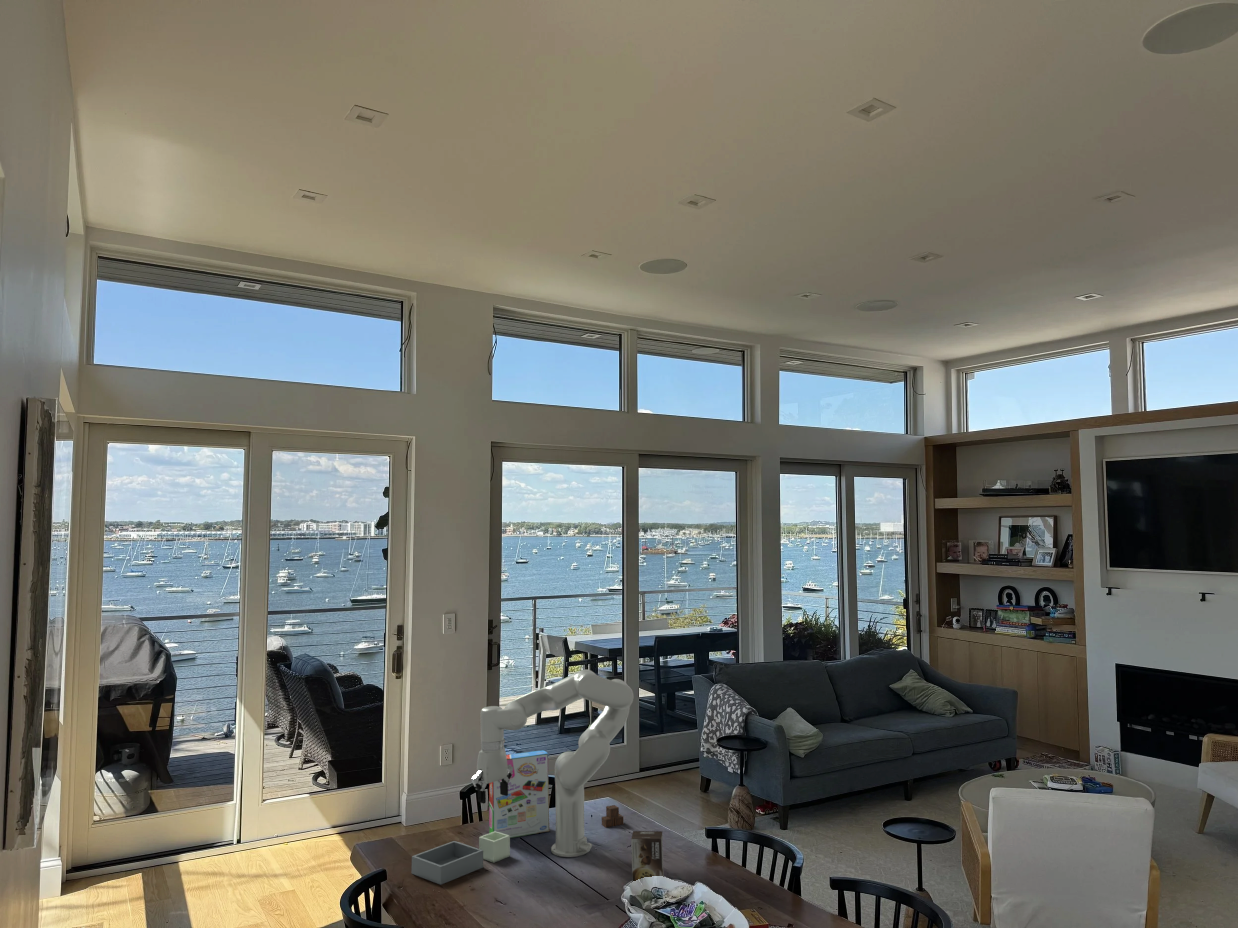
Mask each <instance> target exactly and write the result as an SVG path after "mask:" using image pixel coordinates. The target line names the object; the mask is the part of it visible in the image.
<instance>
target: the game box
mask: <svg viewBox="0 0 1238 928" xmlns="http://www.w3.org/2000/svg"><path fill="white" fill-rule="evenodd" d="M506 757H507V765H509V766H512V767H513V771H512V773H511V774H512V776H511V778H510V779H509V780H510V781H509V783H508V796H505V795H501V794H500V782H502V781H501V780H498V781H495V782H492V783H488V785H489V787H488V794H489V795H488V797H489V798H488V799H489V801H488V803H489V805H488V807H489V808H488V809H489V811H488V812H489V813H488V814H489V821H488V822H489V823H488V824H489V825H488V826H489V833H492V832H494V831H496V832H500V833H503V834H506V835H509V836H510V839H513V838H517V837H518V838H519V837H525V836H529V835H535V834H539V833H540V834H541V833H545V832H550V807H549V806H550V803H549V801H550V800H549V796H550V795H549V753H548V752H547V751H545V750H544V749H542V750H536V751H527V752H518V753H510V754H506Z"/></svg>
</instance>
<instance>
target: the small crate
mask: <svg viewBox="0 0 1238 928" xmlns="http://www.w3.org/2000/svg"><path fill="white" fill-rule="evenodd" d="M510 846H511V838H510V836H509V835H506V834H503V833H500V832H496V831H494V832H492V833H490V832H488V833H486V834H484V835H480V836H479V838H478V849H481V850H483V861H484V860H485V861H487V862H491V863H492V864H494V863H497V862H499V861H501V860H504V859H506V858H509V857H510V856H511V847H510Z"/></svg>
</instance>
